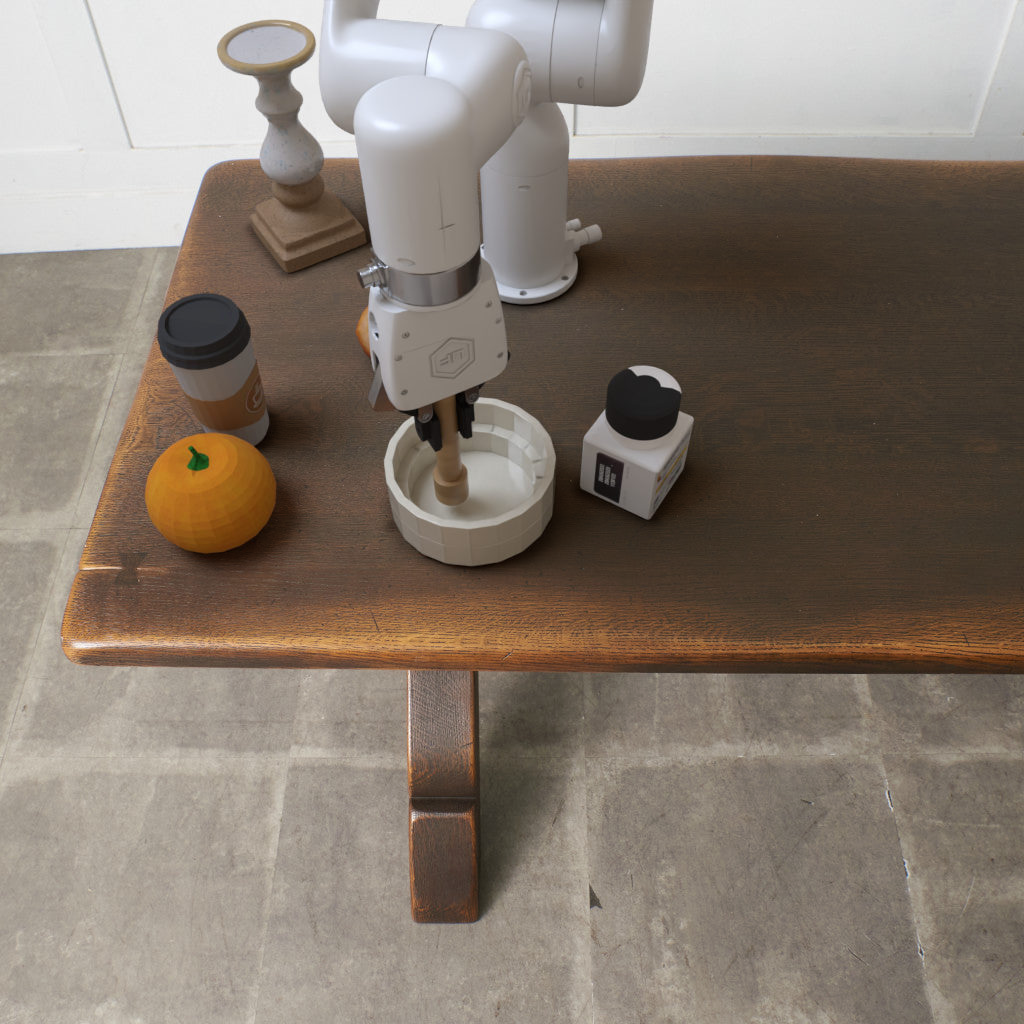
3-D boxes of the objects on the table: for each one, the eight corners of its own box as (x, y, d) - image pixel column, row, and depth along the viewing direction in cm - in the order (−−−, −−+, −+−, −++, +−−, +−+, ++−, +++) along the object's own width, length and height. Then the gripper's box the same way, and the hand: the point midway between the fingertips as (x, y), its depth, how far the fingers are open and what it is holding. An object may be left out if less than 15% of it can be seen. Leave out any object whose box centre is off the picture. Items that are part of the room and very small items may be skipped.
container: (648, 522, 89) (665, 431, 78) (578, 489, 91) (585, 396, 81) (684, 468, 93) (704, 375, 82) (615, 438, 95) (626, 343, 85)
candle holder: (286, 274, 111) (236, 80, 92) (250, 227, 117) (196, 35, 98) (368, 242, 115) (336, 49, 95) (329, 198, 120) (292, 7, 101)
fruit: (135, 547, 88) (96, 481, 80) (202, 457, 94) (171, 387, 86) (245, 583, 85) (215, 518, 77) (305, 488, 92) (284, 419, 84)
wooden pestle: (459, 474, 89) (450, 369, 78) (475, 498, 87) (467, 393, 76) (429, 487, 88) (415, 382, 77) (444, 511, 87) (432, 407, 75)
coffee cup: (263, 466, 94) (224, 357, 82) (185, 454, 95) (135, 344, 83) (291, 406, 98) (258, 295, 86) (217, 395, 99) (174, 284, 87)
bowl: (506, 420, 97) (505, 376, 92) (583, 527, 89) (587, 485, 83) (367, 477, 93) (358, 433, 87) (435, 595, 84) (429, 554, 79)
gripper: (344, 331, 62) (379, 499, 77) (552, 255, 67) (547, 428, 81) (303, 268, 66) (344, 439, 81) (502, 200, 71) (506, 375, 85)
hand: (446, 433), depth 81 cm, fingers closed on wooden pestle, 2 cm apart
